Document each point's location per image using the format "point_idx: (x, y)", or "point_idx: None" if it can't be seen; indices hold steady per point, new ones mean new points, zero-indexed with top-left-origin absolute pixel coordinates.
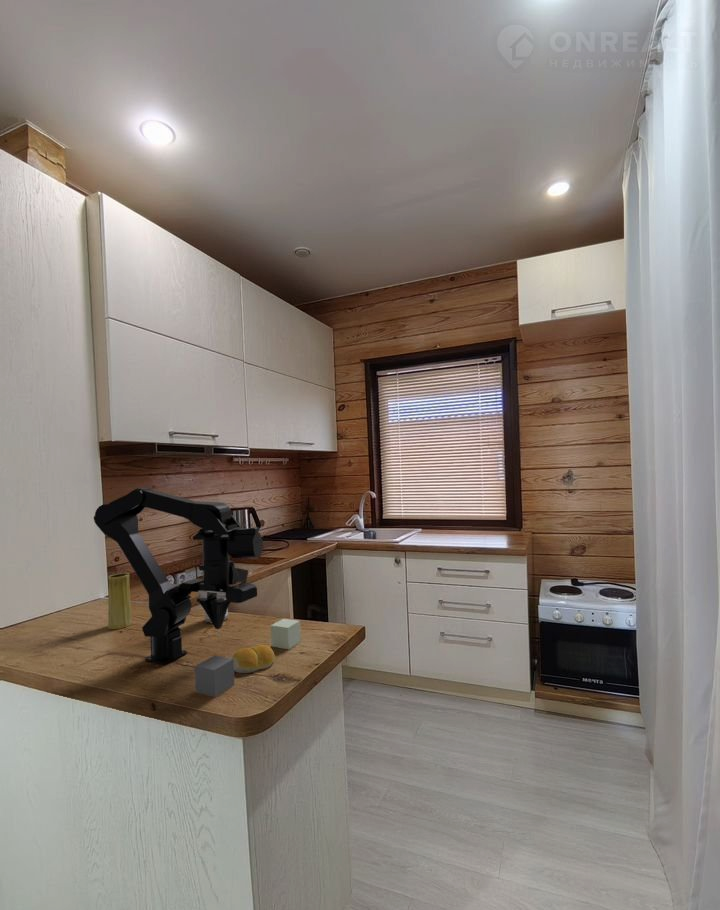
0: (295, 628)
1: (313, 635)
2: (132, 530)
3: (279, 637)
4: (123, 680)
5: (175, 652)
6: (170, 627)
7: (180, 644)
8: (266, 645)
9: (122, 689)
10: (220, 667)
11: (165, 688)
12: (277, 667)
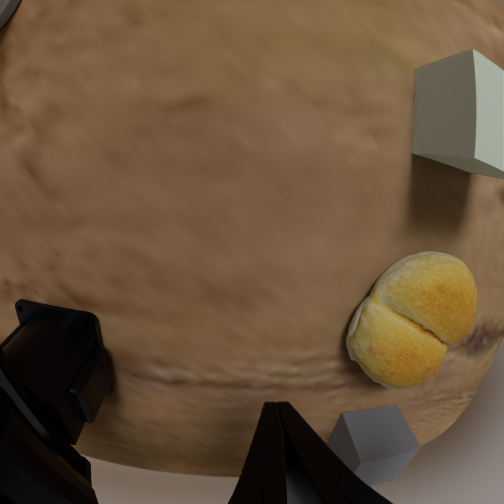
0: None
1: (478, 48)
2: None
3: (470, 166)
4: (111, 445)
5: (104, 381)
6: (39, 428)
7: (93, 378)
8: (468, 291)
9: (153, 466)
10: (400, 470)
11: (241, 458)
12: None
